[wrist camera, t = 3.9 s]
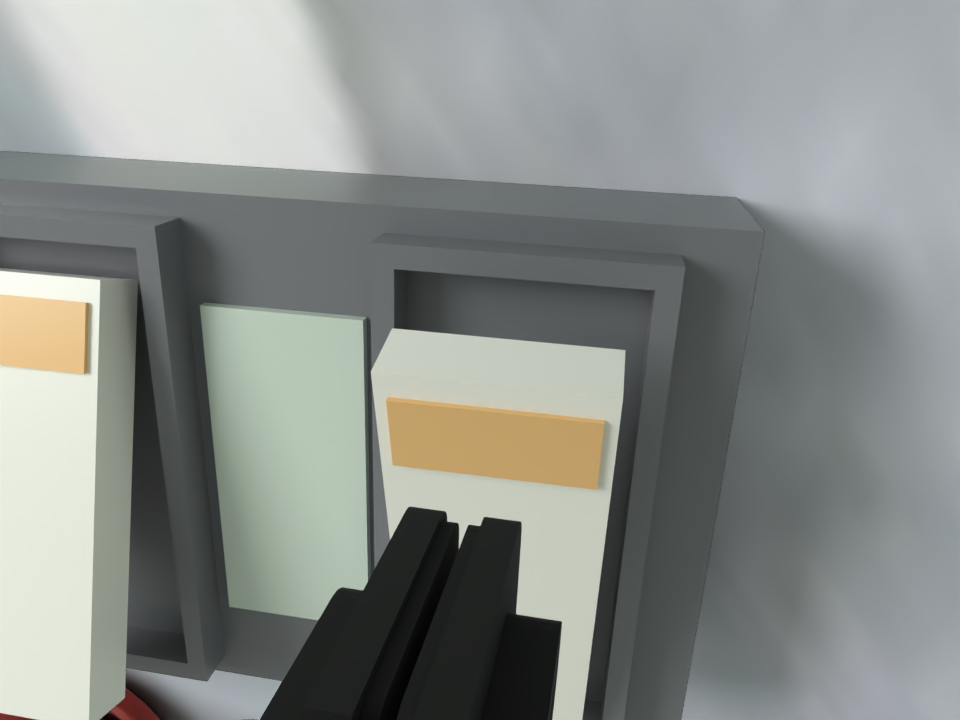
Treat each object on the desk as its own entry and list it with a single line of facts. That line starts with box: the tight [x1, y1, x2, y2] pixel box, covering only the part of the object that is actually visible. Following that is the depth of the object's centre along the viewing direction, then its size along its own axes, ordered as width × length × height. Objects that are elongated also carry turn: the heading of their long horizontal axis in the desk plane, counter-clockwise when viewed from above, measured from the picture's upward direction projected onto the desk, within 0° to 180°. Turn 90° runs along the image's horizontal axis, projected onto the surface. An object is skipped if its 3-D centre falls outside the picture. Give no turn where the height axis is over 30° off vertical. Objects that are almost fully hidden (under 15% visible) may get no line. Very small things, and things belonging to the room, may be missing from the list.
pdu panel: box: [0, 151, 765, 720], centre depth 25 cm, size 16×28×6 cm, turn 88°
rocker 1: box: [0, 268, 138, 720], centre depth 21 cm, size 12×5×2 cm, turn 178°
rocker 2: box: [371, 328, 625, 720], centre depth 19 cm, size 12×5×2 cm, turn 178°
